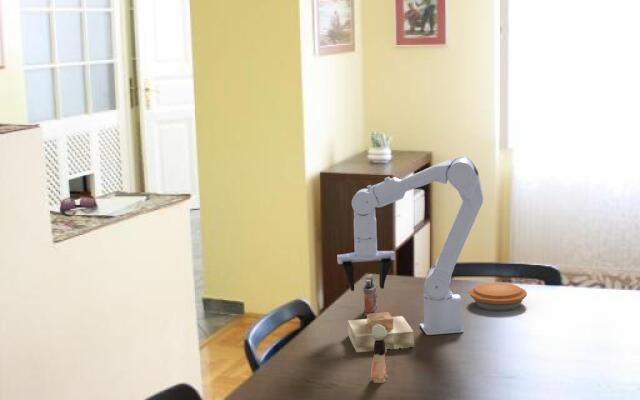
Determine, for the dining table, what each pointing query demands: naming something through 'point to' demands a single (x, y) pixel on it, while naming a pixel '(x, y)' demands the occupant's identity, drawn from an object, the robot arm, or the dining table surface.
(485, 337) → the dining table surface
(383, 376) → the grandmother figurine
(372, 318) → the orange brown block
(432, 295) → the robot arm
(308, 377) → the dining table surface
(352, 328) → the holder
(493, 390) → the dining table surface
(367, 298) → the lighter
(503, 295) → the pie
